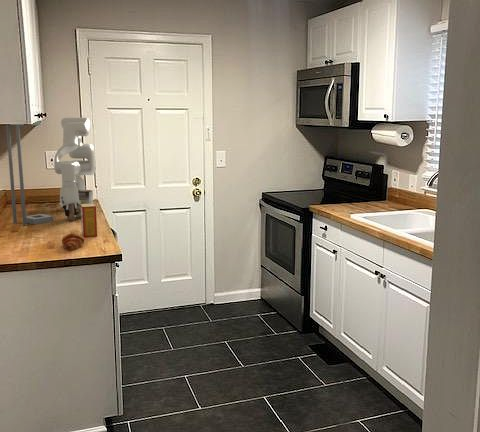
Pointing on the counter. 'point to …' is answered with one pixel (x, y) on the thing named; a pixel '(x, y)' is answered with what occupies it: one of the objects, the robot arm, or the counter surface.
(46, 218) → the socket
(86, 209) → the baking soda box
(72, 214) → the peg
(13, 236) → the counter surface
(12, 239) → the counter surface
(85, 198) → the coffee box
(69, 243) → the croissant
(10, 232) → the counter surface
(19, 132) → the grey two-post stand
